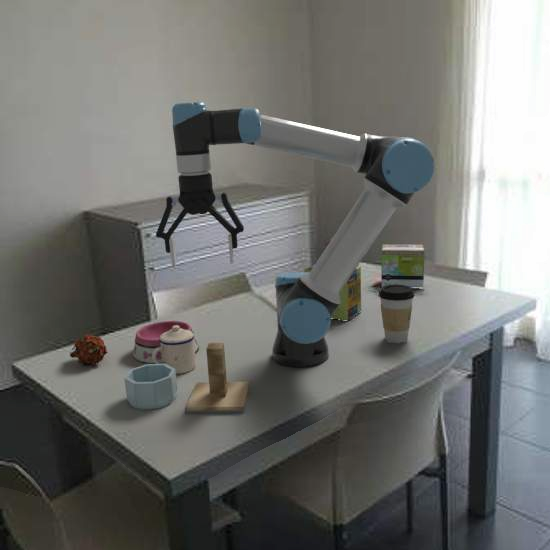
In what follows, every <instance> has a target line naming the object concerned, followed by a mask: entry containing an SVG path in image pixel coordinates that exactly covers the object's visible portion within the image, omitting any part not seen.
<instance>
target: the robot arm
mask: <svg viewBox="0 0 550 550" xmlns="http://www.w3.org/2000/svg"><path fill="white" fill-rule="evenodd" d="M171 110H172V111H171V114H172V130H173V138H174V139H173V140H174V148H175V157H176V168H177V173H178V174H179V176H178V177H177V178H178V189H179V196H173V195H168V196H167V197H166V200H165V201H166V205H165V206H166V207H165V209H164V212H163V215H162V217H161V220H160V222H159V225H158V227H157V231H156V233H155V236H156V238H160V239H163V240H164V245H165V246H164V248H165V252H166V254H170V259H171V268H177V265H178V262H177V253H176V252H177V251H176V243H175V242H176V241H175V237H171V236H172V235H173V234H174V232H175V231H176V230H177V228H178V227H179V225H180V224H181V223H182V221H183V220H184V218H185V216H186V215H187V214H189V215H192V216H195V215H206V214H207V213H209V214H210V215H211V216H212V217H213V218H214V219H215V220H216V221H217V222H218V223H219V224H220V225H221V226H222V227H223V228H224V229H225V230H226V231H227V232H228V234H227V235H228V236H227V240H228V250H229V251H228V252H229V253H228V254H229V265H230V264H232V265H233V264H234V262H235V255H234V254H235V253H234V249H238V234H240V233H243V232H244V230H245V229H244V228H245V227H244V225H243V223H242V221H241V220H240V218H239V216H238V215H237V213H236V211H235V210H234V208H233V206H232V205H231V203H230V201H229V198H228V193H227V192H225V191H224V192H222V193H218V194H215V193H214V189H213V177H212V173H211V172H210V171H211V170H212V166H211V164H212V163H211V155H210V154H211V153H210V146H217V145H238V144H246V145H250V146H251V145H252V146H255V147H261V148H265V149H270V150H274V151H277V152H278V151H279V152H282V153H283V152H284V153H287V154H292V155H297V156H302V157H304V158H305V157H306V158H309V159H314V160H318V161H323V162H329V163H332V164H335V165H336V164H338V165H342V166H345V167H349V168H352V169H353V171H354V172H355V173H358V174H363V175H365V176H364V177H363V183H364V189H363V191H362V192H361V194H360V195H359V197H358V198H357V200H356V202H355V203H354V205H353V206H352V207H351V209H350V211H349V213H348V214H347V216H346V217H345V219H344V220H343V222H342V223H341V225H339V227H338V229H337V231H336V233H334V235H333V237H332V238H331V240H330V241H329V243H328V244H327V246H326V247H325V248H324V251H323V252H322V254H320V256H319V258H318V260H317V261H316V263H315V264H314V265H315V266H314V265H313V266H314V267H313V269H312V270H311V272H310V273H309V272H304V271H300V272H287V273H282V274H280V275H278V276H276V278H275V284H274V288H275V297H276V299H275V302H276V319H277V320H276V321H277V322H276V323H277V332H276V336H275V339H274V342H273V346H272V359H273V360H274V362H275V363H277V364H279V365H282V366H285V367H293V368H302V367H312V366H316V365H319V364H321V363H323V362H325V361H327V360H328V358H329V356H330V355H329V354H330V353H329V345H328V343H327V340H326V338H325V336H326V335H327V334H328V332H329V330H330V327H331V322H332V319H331V316H332V315H333V313H334V312H335V310H336V309H337V307H338V306H339V304H340V303H341V301H340V296H339V293H340V291H341V290H342V288H343V287H344V285H345V284H346V282H347V281H348V279H349V278H350V276H351V275H352V273H353V272H354V271H355V269H356V268H357V266H360V263H361V261H362V260H363V258H364V257H365V256H366V254H367V253H368V251H369V250H370V249H371V247H372V245H373V243H374V242H375V241H376V239H377V238H378V236H379V235H380V234H381V232H382V230H383V229H384V227H385V226H386V224H387V223H388V221H389V220H390V219H391V217H392V215H393V214H394V213H395V211H396V210H397V209H399V208H402V207H406V206H407V205H408V203H409V202H410V200H412V198H413V196H414V194H416V193H417V192H419V191H421V190H422V189H424V188H425V187H426V186H427V185H428V184H429V183H430V182H431V179H433V178H432V177H433V175H434V171H435V161H434V160H435V159H434V155H433V154H432V152H431V150H430V148H429V147H427V145H426V144H425V143H423V142H421V141H419V140H417V139H415V138H412V137H404V136H403V137H401V136H397V135H396V136H387V135H386V136H385V135H384V136H383V135H374V134H369V133H362V134H361V135H359V136H358V135H354V134H348V133H344V132H340V131H336V130H331V129H328V128H322V127H319V126H313V125H309V124H305V123H299V122H295V121H291V120H286V119H282V118H278V117H273V116H269V115H263V114H261V113H260V110H259V109H258V108H255V107H254V108H253V107H251V108H248V107H241V108H233V109H220V110H219V109H218V110H207V107H206V104H205V102H201V101H199V102H198V101H197V102H182V103H176V104H174V105H173V106H172V109H171ZM216 200H217V201H218V202H219V203H220V204H222V205H223V207H224V209H225V211H226V212H227V215H228V216H229V217H230V219H231V221H232V222H233V224H234V226H233V225H232V224H231V223H230V222H229V220H227V219H226V218H225V217H224V215H222V214H221V213H220V212H219V211H218V210H217V207H215V206H214V203H215V201H216ZM177 203H179V204H180V206H181V207H182V208H183V209H182V210H181V211H180V212H179V215H178V216H177V217H176V219H175V220H174V221H173V223H172V224H171V226H169V229H168V230H167V232H165V229H166V227H167V224H168V221H169V218H170V216H171V213H172V211H173V208H174V207H175V206H177Z"/></svg>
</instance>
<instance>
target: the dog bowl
mask: <svg viewBox="0 0 550 550" xmlns="http://www.w3.org/2000/svg"><path fill="white" fill-rule="evenodd" d="M175 325H178V326H179V327H180V328H181V329H184V330H189V331H191V332H192V333H193V334H194V349H195V355H196V354H198V351H199V349H200V347H199V344H198V341H197V339H196V336H195V332H194V331H193V328H192V326H191V325H190V324H189V323H187V322H184V321H178V320H166V321H156V322H152V323H150V324H145V325H144V326H142V327H140V328H139V329H138V330H137V331H136V334H135V338H134V346H133V351H132V352H133V353H132V357H133V359H134V360H135V361H136V362H139V363H141V364H144V365H146V364H156V363H154V361H153V359H152V353H153V351H154V350H155V349H156V348H158V347H161V343H160V341H159V339H160V336H161V335H162V334H163V333H165V332H168V331H169V330H171V329H172V327H173V326H175ZM156 360H157V361H158V362H162V353H161V350H160V351H158V352H157V354H156Z"/></svg>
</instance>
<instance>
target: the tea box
mask: <svg viewBox="0 0 550 550" xmlns="http://www.w3.org/2000/svg"><path fill="white" fill-rule="evenodd" d="M381 245H382V246H381V274H380V275H381V278H380V279H381V288H382V287H383V286H387V285H406V286H409V287H423V288H424V283H425V282H424V280H425V248H424V245H423V244H381Z"/></svg>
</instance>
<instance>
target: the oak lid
mask: <svg viewBox="0 0 550 550" xmlns="http://www.w3.org/2000/svg"><path fill="white" fill-rule="evenodd" d="M225 352H226V351H225V343H224V342H210V343H208V344H207V346H206V361H207V374H208V381H207V382H205V381H204V382H195V385H194V388H193V390H192V393H191V394H190V397H189V400H188V402H187V405H186V406H185V412H186V411H206V410H244V411H245V409H244V407H245V408H246V405H245V403H246V404H247V401H246V398H247V399H248V396H247V394H248V395H249V392H248V390H249V391H250V388H249V386H250V385H251V383H250V381H228V380H227V379H228V378H227V368H226V367H227V366H226V365H227V364H226V356H225V354H226V353H225ZM250 387H251V386H250Z"/></svg>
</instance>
